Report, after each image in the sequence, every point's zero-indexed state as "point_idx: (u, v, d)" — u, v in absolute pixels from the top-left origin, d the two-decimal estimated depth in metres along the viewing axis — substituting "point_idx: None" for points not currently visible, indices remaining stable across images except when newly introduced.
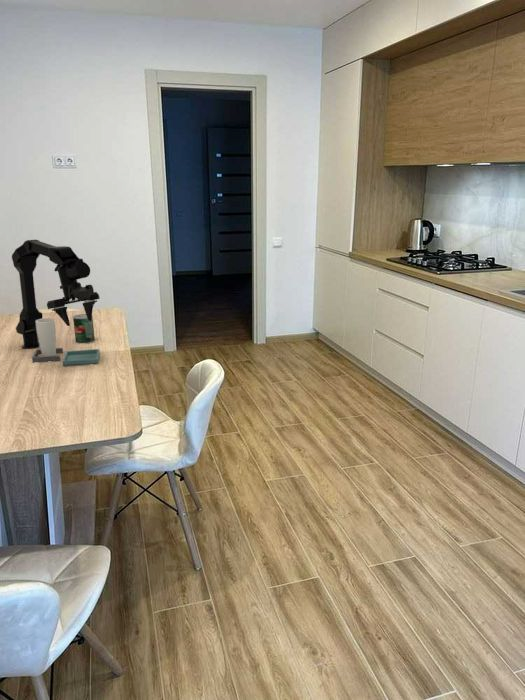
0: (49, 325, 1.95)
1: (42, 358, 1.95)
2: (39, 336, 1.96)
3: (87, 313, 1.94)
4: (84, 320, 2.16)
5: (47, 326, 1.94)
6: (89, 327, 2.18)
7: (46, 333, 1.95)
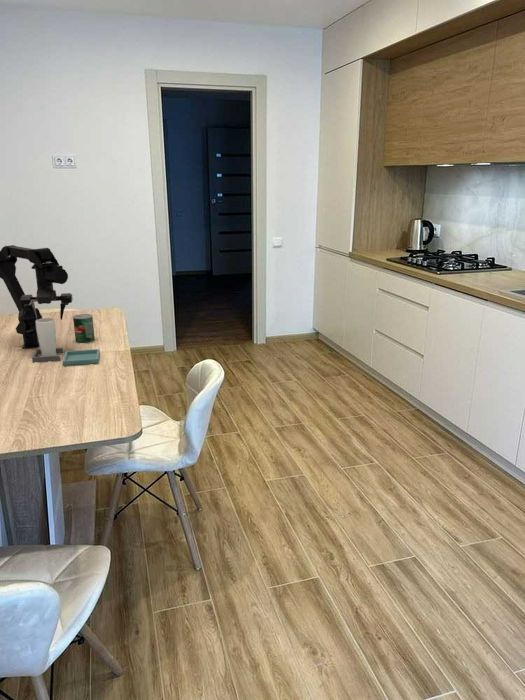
0: (49, 325, 1.95)
1: (42, 358, 1.95)
2: (39, 336, 1.96)
3: None
4: (84, 320, 2.16)
5: (47, 326, 1.94)
6: (89, 327, 2.18)
7: (46, 333, 1.95)
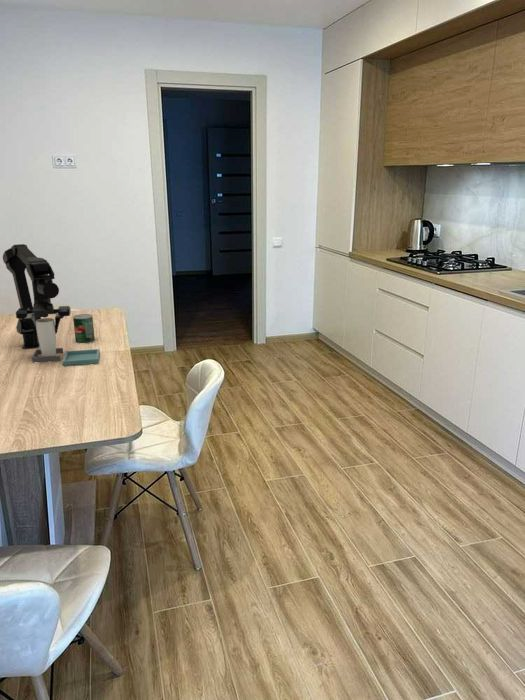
0: (49, 325, 1.95)
1: (42, 358, 1.95)
2: (39, 336, 1.96)
3: None
4: (84, 320, 2.16)
5: (47, 326, 1.94)
6: (89, 327, 2.18)
7: (46, 333, 1.95)
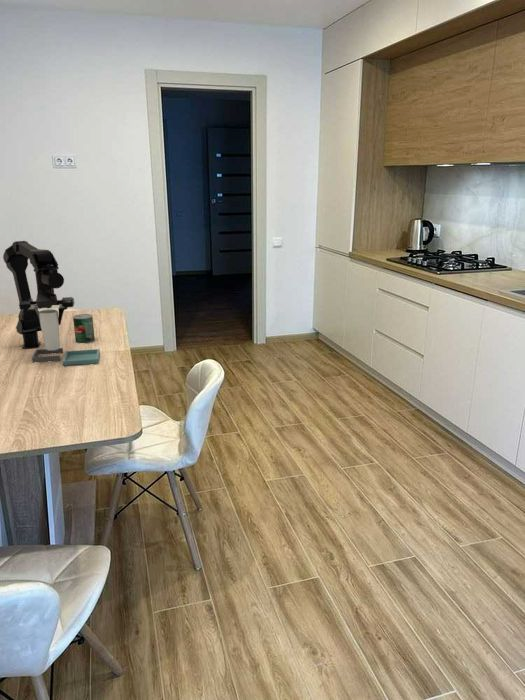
0: (52, 316, 1.93)
1: (42, 358, 1.95)
2: (42, 328, 1.94)
3: (59, 317, 1.97)
4: (84, 320, 2.16)
5: (50, 317, 1.93)
6: (89, 327, 2.18)
7: (49, 324, 1.93)
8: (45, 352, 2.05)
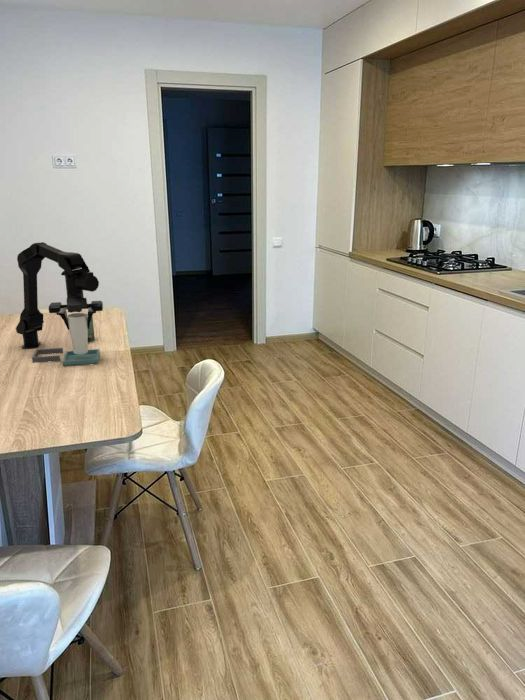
0: (81, 320, 1.91)
1: (42, 358, 1.95)
2: (71, 332, 1.92)
3: None
4: None
5: (79, 321, 1.91)
6: (89, 327, 2.18)
7: (79, 328, 1.92)
8: (45, 352, 2.05)
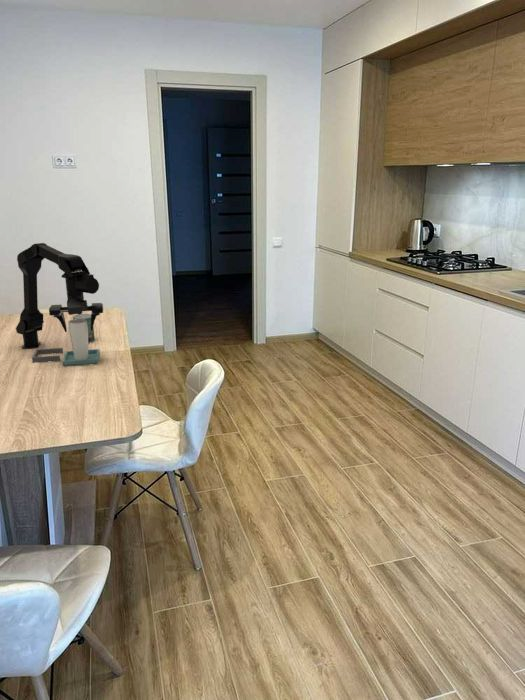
0: (82, 326, 1.92)
1: (42, 358, 1.95)
2: (71, 338, 1.93)
3: None
4: None
5: (80, 327, 1.92)
6: (89, 327, 2.18)
7: (79, 334, 1.92)
8: (45, 352, 2.05)
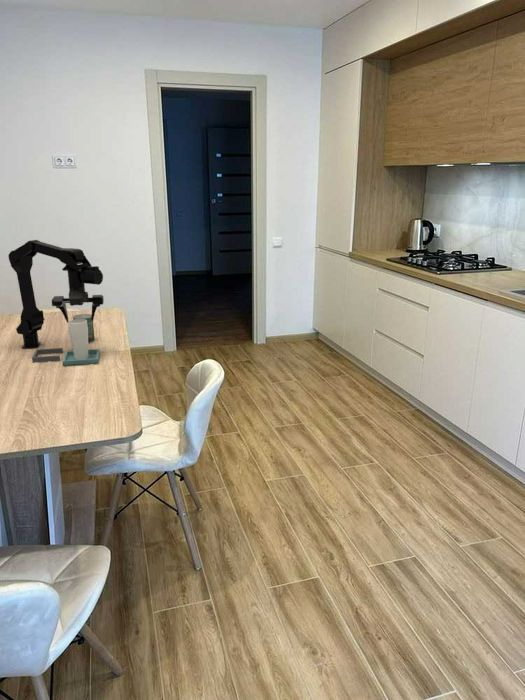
0: (82, 326, 1.92)
1: (42, 358, 1.95)
2: (71, 338, 1.93)
3: None
4: None
5: (80, 327, 1.92)
6: (89, 327, 2.18)
7: (79, 334, 1.92)
8: (45, 352, 2.05)
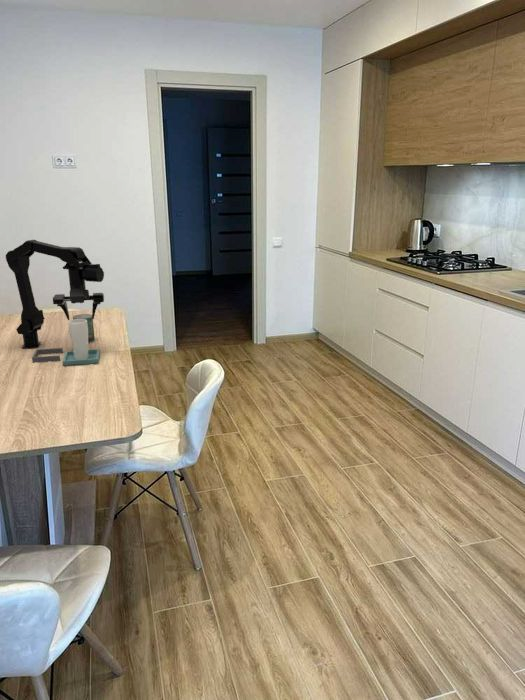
0: (82, 326, 1.92)
1: (42, 358, 1.95)
2: (72, 337, 1.93)
3: None
4: None
5: (80, 327, 1.92)
6: (89, 327, 2.18)
7: (79, 334, 1.92)
8: (45, 352, 2.05)
